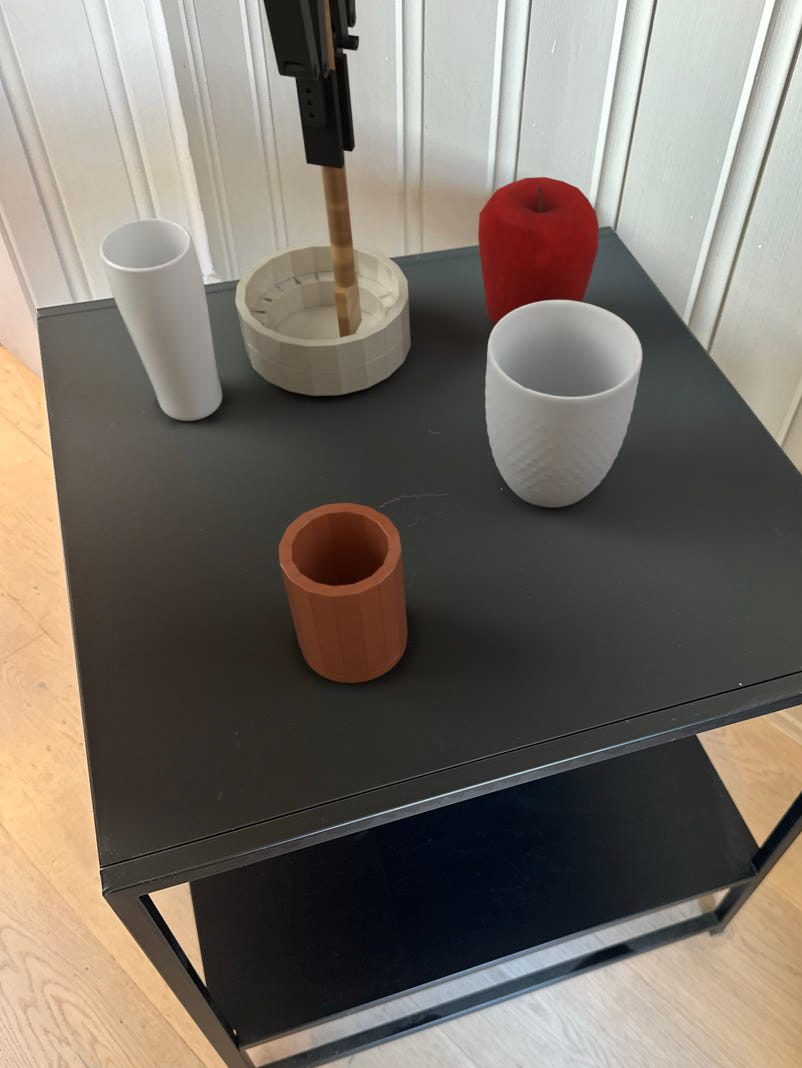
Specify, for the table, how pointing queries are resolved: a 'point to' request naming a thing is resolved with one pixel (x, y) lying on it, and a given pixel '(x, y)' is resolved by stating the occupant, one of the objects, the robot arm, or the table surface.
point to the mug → (559, 397)
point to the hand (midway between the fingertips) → (331, 154)
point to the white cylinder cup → (165, 313)
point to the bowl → (322, 320)
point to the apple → (536, 244)
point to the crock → (346, 590)
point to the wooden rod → (341, 231)
